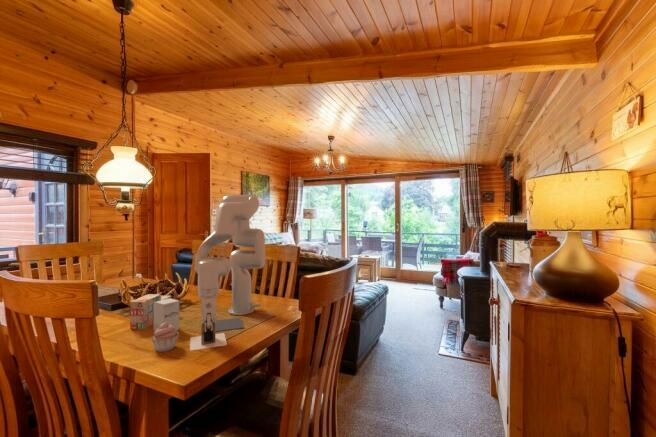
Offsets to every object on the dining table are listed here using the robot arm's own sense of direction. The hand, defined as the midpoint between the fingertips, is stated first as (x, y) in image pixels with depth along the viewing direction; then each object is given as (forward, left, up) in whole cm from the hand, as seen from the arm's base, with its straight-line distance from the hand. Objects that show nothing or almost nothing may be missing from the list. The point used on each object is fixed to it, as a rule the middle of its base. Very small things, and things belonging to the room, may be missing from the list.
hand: (208, 337), depth 124 cm
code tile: (0, 0, -2) cm, 2 cm away
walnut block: (0, 0, -1) cm, 1 cm away
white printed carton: (+23, -35, -2) cm, 42 cm away
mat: (-8, -16, -2) cm, 18 cm away
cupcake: (+15, +1, -2) cm, 15 cm away
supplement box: (+16, -19, -2) cm, 25 cm away
